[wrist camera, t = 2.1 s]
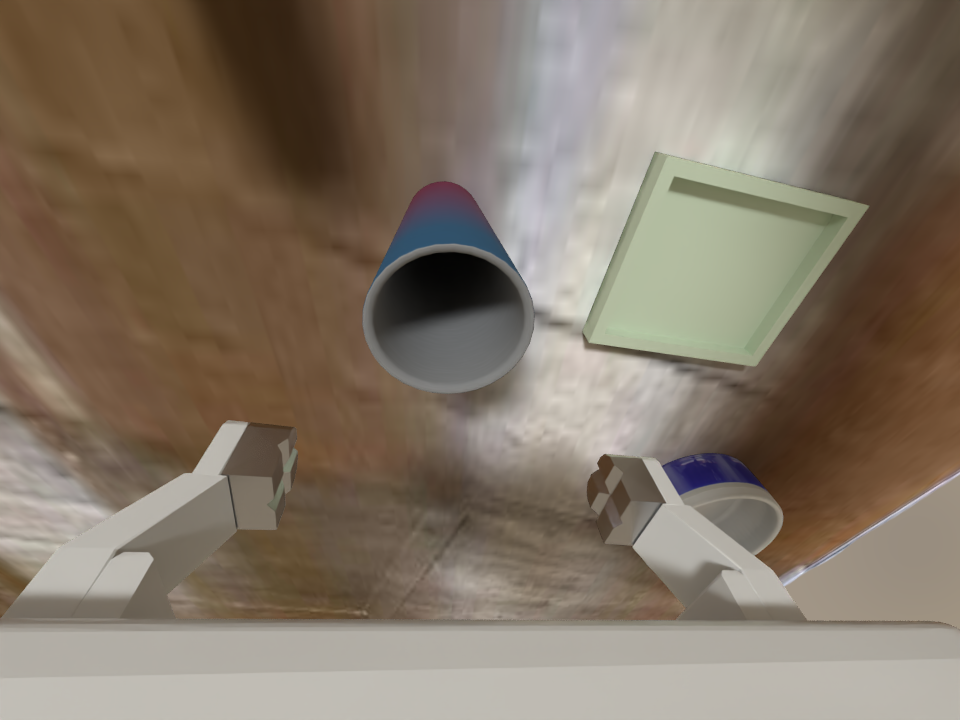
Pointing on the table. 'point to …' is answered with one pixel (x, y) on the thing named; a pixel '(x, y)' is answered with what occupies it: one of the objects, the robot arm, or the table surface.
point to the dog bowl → (727, 498)
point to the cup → (447, 298)
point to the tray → (715, 262)
